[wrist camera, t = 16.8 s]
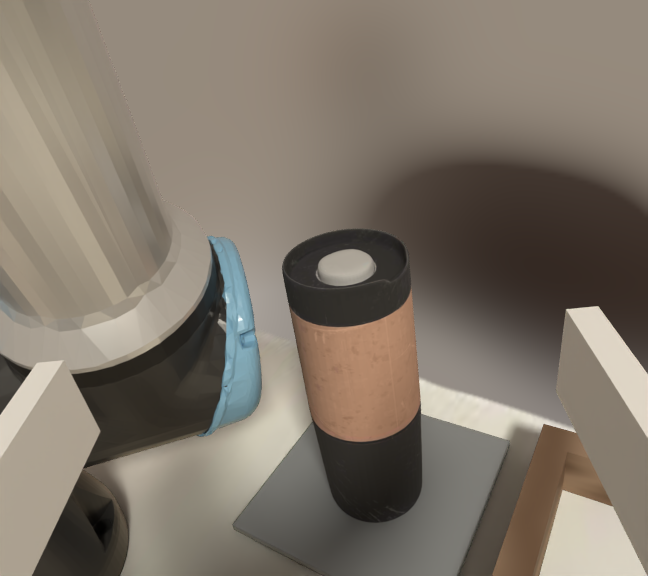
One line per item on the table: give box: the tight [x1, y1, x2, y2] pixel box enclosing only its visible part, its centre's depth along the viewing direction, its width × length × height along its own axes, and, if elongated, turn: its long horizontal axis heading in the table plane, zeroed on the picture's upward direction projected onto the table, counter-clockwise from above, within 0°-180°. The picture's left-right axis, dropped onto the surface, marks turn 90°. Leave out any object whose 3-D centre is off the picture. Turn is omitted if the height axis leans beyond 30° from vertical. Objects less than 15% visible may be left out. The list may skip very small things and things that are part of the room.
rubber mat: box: [233, 414, 510, 576], centre depth 42 cm, size 16×16×1 cm
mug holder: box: [492, 424, 613, 576], centre depth 32 cm, size 15×15×4 cm
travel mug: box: [282, 229, 422, 523], centre depth 37 cm, size 8×8×20 cm
